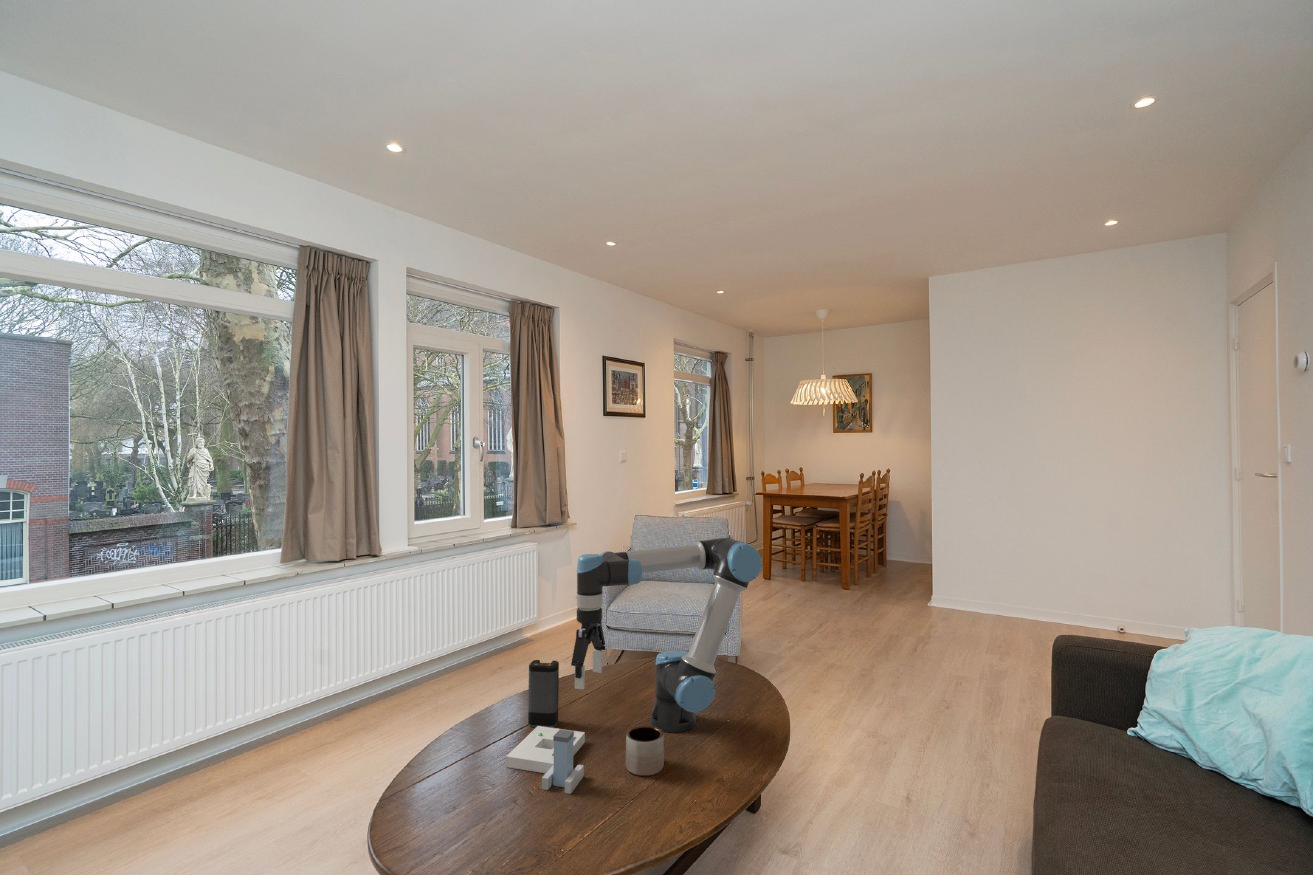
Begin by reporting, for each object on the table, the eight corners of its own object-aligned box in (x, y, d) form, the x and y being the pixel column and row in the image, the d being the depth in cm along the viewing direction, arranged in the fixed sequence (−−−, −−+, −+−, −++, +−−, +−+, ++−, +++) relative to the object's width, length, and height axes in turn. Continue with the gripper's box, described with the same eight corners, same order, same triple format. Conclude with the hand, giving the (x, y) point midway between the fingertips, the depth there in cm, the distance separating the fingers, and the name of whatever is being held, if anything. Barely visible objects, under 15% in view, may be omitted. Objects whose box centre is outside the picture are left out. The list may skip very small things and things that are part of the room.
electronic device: (559, 720, 202) (560, 660, 203) (554, 728, 196) (555, 666, 197) (532, 719, 203) (533, 659, 204) (526, 727, 197) (527, 665, 198)
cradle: (583, 776, 167) (583, 765, 168) (570, 793, 159) (570, 782, 159) (556, 771, 170) (556, 760, 170) (541, 788, 161) (541, 777, 161)
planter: (668, 761, 176) (668, 728, 176) (656, 780, 166) (656, 745, 166) (633, 754, 180) (634, 722, 180) (619, 773, 169) (620, 738, 170)
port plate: (584, 742, 187) (585, 730, 187) (557, 775, 168) (557, 762, 168) (537, 735, 191) (537, 724, 192) (506, 766, 172) (506, 754, 172)
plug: (573, 779, 166) (573, 731, 166) (567, 787, 162) (567, 737, 162) (559, 777, 167) (559, 729, 167) (552, 785, 163) (553, 735, 163)
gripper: (593, 596, 192) (592, 664, 191) (559, 617, 168) (558, 694, 167) (615, 598, 190) (615, 666, 189) (584, 619, 166) (584, 697, 165)
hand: (588, 679), depth 178 cm, fingers open, 13 cm apart
